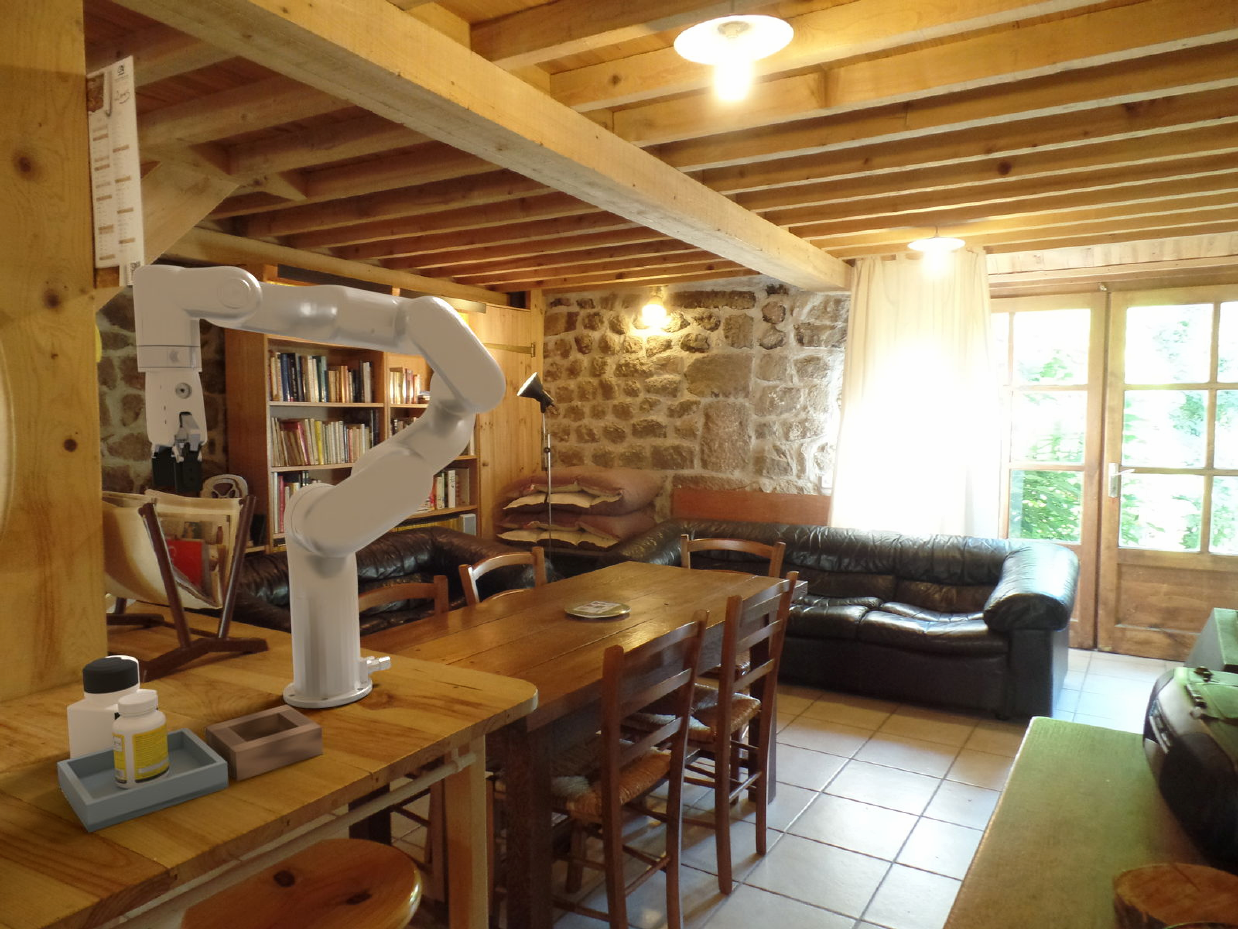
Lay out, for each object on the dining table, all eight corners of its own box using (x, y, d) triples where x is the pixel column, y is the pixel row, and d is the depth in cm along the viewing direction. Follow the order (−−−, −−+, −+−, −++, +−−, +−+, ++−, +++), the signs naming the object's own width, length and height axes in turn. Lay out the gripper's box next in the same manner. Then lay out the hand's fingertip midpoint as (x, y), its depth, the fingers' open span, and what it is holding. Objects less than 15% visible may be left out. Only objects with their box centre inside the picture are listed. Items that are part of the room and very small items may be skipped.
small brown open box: (288, 729, 114) (287, 704, 113) (322, 753, 106) (321, 726, 106) (206, 753, 106) (205, 726, 106) (237, 781, 99) (235, 752, 99)
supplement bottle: (178, 768, 101) (173, 688, 100) (154, 790, 95) (149, 706, 94) (132, 769, 101) (127, 689, 100) (105, 791, 95) (100, 707, 94)
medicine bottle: (119, 767, 103) (112, 671, 102) (69, 762, 105) (62, 667, 103) (161, 742, 110) (155, 652, 109) (114, 738, 111) (108, 649, 110)
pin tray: (188, 750, 108) (186, 727, 107) (228, 787, 98) (227, 762, 97) (58, 787, 98) (57, 762, 98) (88, 833, 88) (86, 805, 88)
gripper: (222, 359, 109) (229, 491, 110) (179, 362, 121) (186, 481, 123) (158, 359, 104) (167, 497, 105) (120, 362, 116) (128, 486, 118)
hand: (177, 488), depth 114 cm, fingers open, 9 cm apart
